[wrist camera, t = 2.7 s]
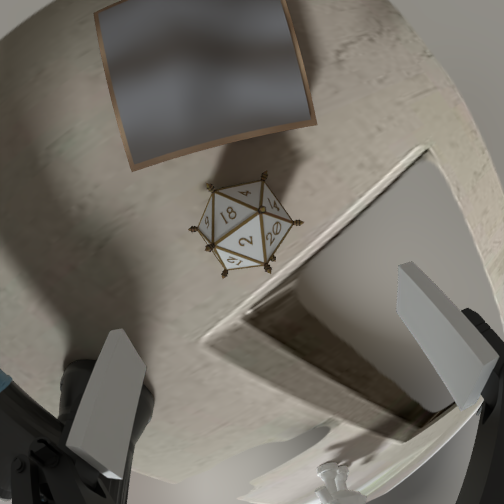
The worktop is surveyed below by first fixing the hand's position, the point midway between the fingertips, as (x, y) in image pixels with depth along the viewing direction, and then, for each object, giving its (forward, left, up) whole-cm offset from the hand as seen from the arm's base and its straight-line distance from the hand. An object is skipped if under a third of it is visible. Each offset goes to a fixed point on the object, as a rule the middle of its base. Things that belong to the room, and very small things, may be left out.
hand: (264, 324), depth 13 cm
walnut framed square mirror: (+14, 0, -17) cm, 22 cm away
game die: (0, 0, -17) cm, 17 cm away
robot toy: (-67, -6, -17) cm, 69 cm away
